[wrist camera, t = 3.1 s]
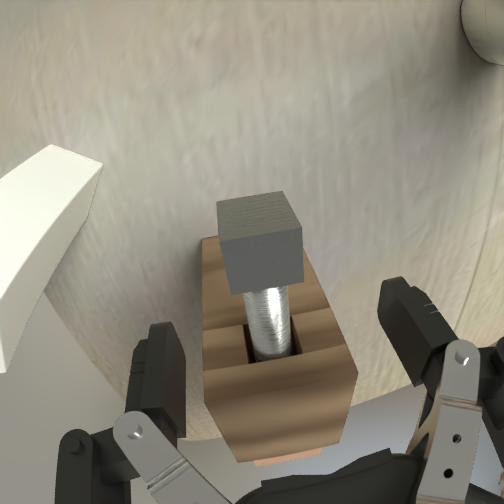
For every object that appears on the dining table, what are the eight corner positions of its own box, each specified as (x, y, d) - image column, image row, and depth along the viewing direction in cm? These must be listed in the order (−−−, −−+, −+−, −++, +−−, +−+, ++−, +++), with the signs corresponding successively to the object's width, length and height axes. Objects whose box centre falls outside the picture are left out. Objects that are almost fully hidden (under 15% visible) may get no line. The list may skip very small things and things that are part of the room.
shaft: (216, 201, 16) (219, 241, 13) (282, 191, 17) (301, 227, 13) (267, 433, 33) (272, 462, 29) (296, 427, 33) (303, 456, 30)
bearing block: (202, 238, 31) (204, 402, 16) (291, 223, 32) (358, 372, 17) (223, 322, 38) (238, 462, 23) (296, 309, 38) (338, 442, 23)
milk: (104, 163, 26) (-29, 359, 8) (87, 217, 28) (-7, 419, 10) (49, 143, 24) (-120, 297, 5) (37, 198, 26) (-87, 371, 8)
